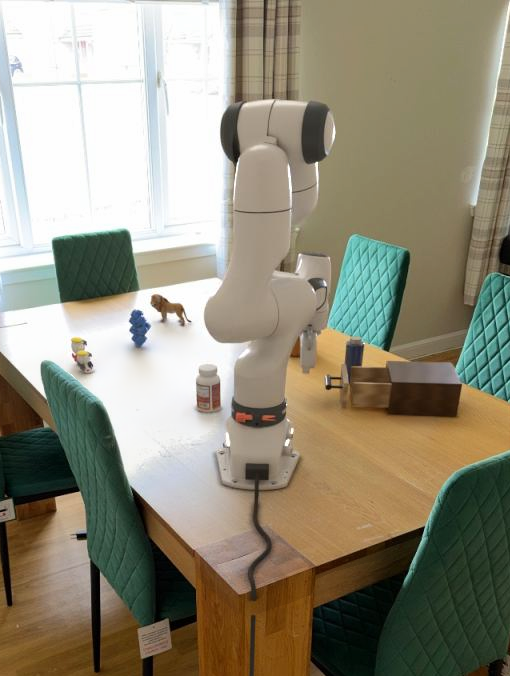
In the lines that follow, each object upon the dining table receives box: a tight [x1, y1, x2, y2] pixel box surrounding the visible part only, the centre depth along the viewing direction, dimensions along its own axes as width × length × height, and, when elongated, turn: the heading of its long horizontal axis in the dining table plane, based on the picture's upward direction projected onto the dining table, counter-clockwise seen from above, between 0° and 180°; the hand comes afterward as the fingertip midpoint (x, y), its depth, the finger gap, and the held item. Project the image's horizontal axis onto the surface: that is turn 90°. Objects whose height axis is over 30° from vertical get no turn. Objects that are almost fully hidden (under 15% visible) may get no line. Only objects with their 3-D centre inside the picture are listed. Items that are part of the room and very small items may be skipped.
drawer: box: [324, 363, 391, 410], centre depth 191 cm, size 20×14×7 cm
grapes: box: [128, 308, 152, 348], centre depth 230 cm, size 12×7×12 cm, turn 24°
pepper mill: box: [344, 335, 365, 384], centre depth 203 cm, size 5×5×12 cm
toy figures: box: [70, 336, 94, 374], centre depth 215 cm, size 12×4×8 cm, turn 23°
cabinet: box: [385, 360, 463, 418], centre depth 190 cm, size 17×15×9 cm
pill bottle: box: [195, 363, 222, 413], centre depth 189 cm, size 6×6×11 cm
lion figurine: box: [149, 293, 192, 326], centre depth 251 cm, size 15×5×9 cm, turn 70°
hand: (305, 371), depth 191 cm, fingers closed
